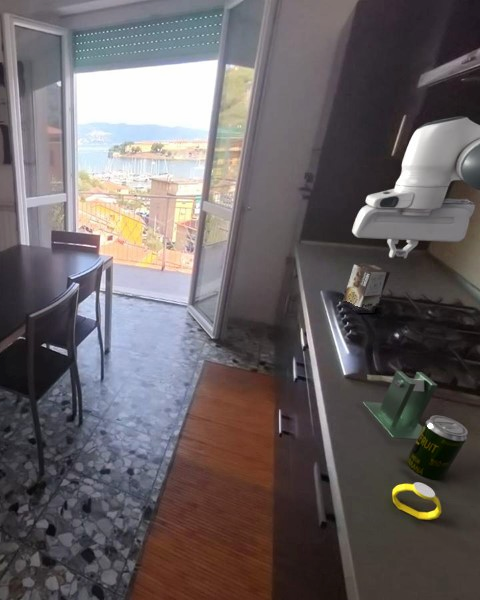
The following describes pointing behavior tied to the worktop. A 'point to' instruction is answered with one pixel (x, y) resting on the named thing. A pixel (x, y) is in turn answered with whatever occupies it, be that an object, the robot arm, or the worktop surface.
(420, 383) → the lever
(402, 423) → the bracket
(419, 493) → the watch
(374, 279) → the coffee box
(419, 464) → the green drink can
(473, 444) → the worktop surface
